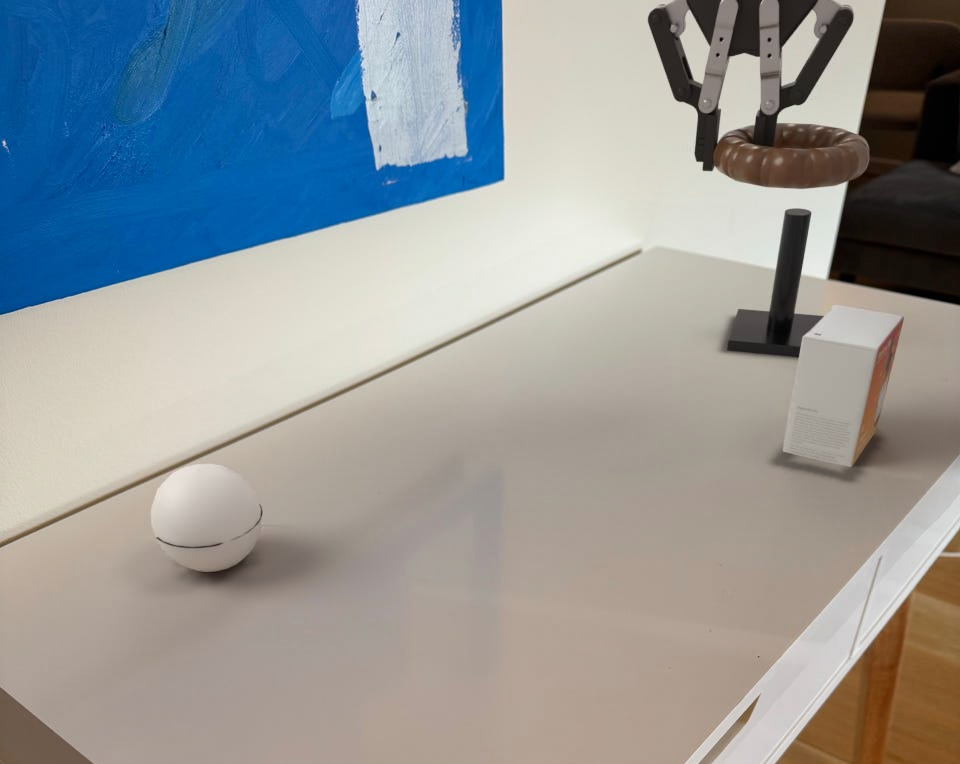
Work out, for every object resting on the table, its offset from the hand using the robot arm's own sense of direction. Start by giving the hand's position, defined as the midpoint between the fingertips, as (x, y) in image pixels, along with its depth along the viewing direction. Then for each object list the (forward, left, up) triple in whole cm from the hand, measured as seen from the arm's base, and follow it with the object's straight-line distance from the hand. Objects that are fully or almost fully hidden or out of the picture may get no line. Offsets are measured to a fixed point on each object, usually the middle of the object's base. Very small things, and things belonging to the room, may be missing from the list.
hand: (732, 168), depth 72 cm
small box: (-10, 0, -21) cm, 23 cm away
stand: (-5, -23, -21) cm, 32 cm away
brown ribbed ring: (-4, 0, +1) cm, 4 cm away
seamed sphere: (+28, +29, -21) cm, 46 cm away
